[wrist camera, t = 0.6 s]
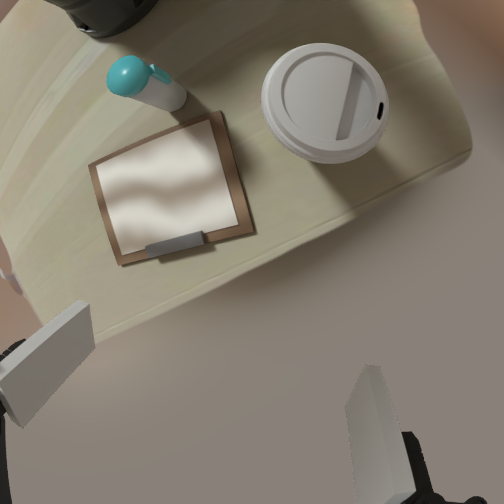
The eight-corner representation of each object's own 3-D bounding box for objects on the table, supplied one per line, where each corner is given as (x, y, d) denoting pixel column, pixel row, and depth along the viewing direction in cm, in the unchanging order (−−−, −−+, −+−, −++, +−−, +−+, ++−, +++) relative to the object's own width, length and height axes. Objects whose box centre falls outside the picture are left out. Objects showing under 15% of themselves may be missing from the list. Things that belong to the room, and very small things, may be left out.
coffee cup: (322, 181, 33) (345, 193, 19) (256, 132, 32) (229, 108, 18) (370, 120, 30) (420, 92, 16) (304, 71, 29) (310, 12, 15)
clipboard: (90, 165, 36) (83, 165, 34) (221, 111, 32) (217, 108, 31) (120, 264, 40) (114, 268, 38) (254, 230, 36) (252, 233, 34)
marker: (159, 92, 32) (104, 67, 20) (189, 80, 31) (142, 46, 19) (166, 118, 33) (110, 101, 21) (196, 106, 32) (150, 81, 20)
